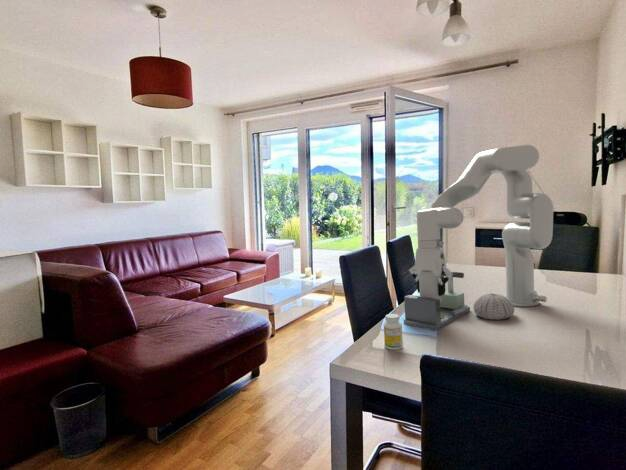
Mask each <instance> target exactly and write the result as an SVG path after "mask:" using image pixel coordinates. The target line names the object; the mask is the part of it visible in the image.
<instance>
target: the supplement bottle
mask: <svg viewBox="0 0 626 470" xmlns="http://www.w3.org/2000/svg"><path fill="white" fill-rule="evenodd" d="M383 337H384V347H385V348H386V349H388V350H390V351H391V350H392V351H396V350H397V351H398V350H401V349H402V348H403V346H404V342H403V341H404V340H403V324H402V322H401V321H400V315H399V314H396V313H388V314H386V315H385V322H384V324H383Z"/></svg>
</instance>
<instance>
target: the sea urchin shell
mask: <svg viewBox="0 0 626 470" xmlns="http://www.w3.org/2000/svg"><path fill="white" fill-rule="evenodd" d="M472 308H473V311H474V313H475V314H476V315H477V316H478V317H480V318H483V319H486V320H493V321H495V320H505V319H508V318H510V317H512V316H513V315H514V313H515V311H516V310H515V306H513V304H512V303H511V302H510V301H509V300H508V299H507V298H506V296H504V295H502V294H497V293H487V294H486V293H485V294H483V295H481V296H480V297H478V298H477V299H476V300H475V302H474V303H473V307H472Z"/></svg>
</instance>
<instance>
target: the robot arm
mask: <svg viewBox="0 0 626 470" xmlns="http://www.w3.org/2000/svg"><path fill="white" fill-rule="evenodd" d="M539 160H540V153H539V151H538V148H537V147H536V146H533V145H531V144H524V145H515V146H505V147H497V148H493V149H492V148H491V149H487V150H483V151H480V152H478V153H476V155H475V156H474V157H473V158H472V160H471V161H470V163H469V164H468V165H467V167H466V168H465V170H464V171H463V173H462V174H461V175H460V177H459V178H458V179H457V180H456V182H454V183H453V184H451V185H450V186H449V187H447V188H446V189H445V190H444V191H442V192H441V194H439V195H438V196H437V197H436V199H435V200H434V201H433V202H432V203H431V205H430V206H429V208H427V209H419V210H418V211H417V213H416V227H417V228H416V229H417V231H416V232H417V248H416V250H415V257H414V261H415V262H414V265H413V266H412V267H411V268H409V270H408V271H409V273H410V275H411V277H413V279H414V281H415V282H416V290H417V293H418V294H420V289H419V274H420V273H421V271H424V272H433V274H434V275H435V276H436V277H438V281H439V283H440V284H439V285H438V294H439V296H442V295H444V294H445V290H446V284H448V280H449V279H450V278H451V276H452V275H453V273H452V272H453V271H451V270H450V269H449V268H448V267H447V263H446V256H445V252H444V249H443V248H442V246H444V241H441V240H442V239H441V229H446V230H447V229H448V230H450V229H451V230H452V229H456V228H458V227H461V225H462V224H463V221H464V214H463V212H462V211H461V210H460V209H459V208H456V207H455V206H457V205H458V204H460V203H462V202H464V201H467V200H469V199H472V198H474V197H475V196H477V195H478V194H479V193H480V191H482V189H483V187H484V186H485V184H486V183H487V181H488V179H490V177H491V176H492V174H497V173H500V174H501V175H502V176H503V177H504V179H505V182H506V212H507V215H508V216H509V217H511V218H513V219H519V220H520V219H521V220H523V219H524V220H529V222H527V221H526V222H525V221H524V222H523V221H522V222H520V221H519V222H518V221H514V222H510V223H508V224H507V225H505V226H504V227H503V229H502V232H501V238H502V242H503V246H504V252H505V253H504V255H505V279H506V280H505V281H506V282H505V283H506V285H505V286H506V288H505V289H506V296H505V297H506V298H507V299H508V300H509V301H510V302H511V303H512V304H513V307H523V308H524V307H525V308H527V307H529V308H530V307H535V306H539V304H540V302H543V303H546V302H547V301H548V297H547V296H546V295H540V294H538V291H536V290H535V272H534V271H535V269H534V264H535V263H534V261H535V260H534V255H533V252H532V250H531V249H535V250H537V249H538V250H542V249H546V248H547V247H548V246H550V244H551V242H552V241H553V234H554V233H553V232H554V205H553V204H554V203H553V201H552V199H551V197H550V196H549V195H548V194H546V193H542V192H534V191H533V181H532V180H533V179H532V175H531V174H530V173H529V171H528V169H531V168H534V167H535V166H536V165H537V163H538V162H539ZM446 274H447V276H443V275H446Z"/></svg>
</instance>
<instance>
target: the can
mask: <svg viewBox="0 0 626 470" xmlns="http://www.w3.org/2000/svg"><path fill="white" fill-rule="evenodd" d="M439 284H440V283H439V281H438V277H436V276H435V275H434V274H433V272H424V271H421V273H420V274H419V289H420V293H419V296H420V297H426V298H432V299H439V300H440V303H441V302H442V296H439V294H438V285H439Z"/></svg>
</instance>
